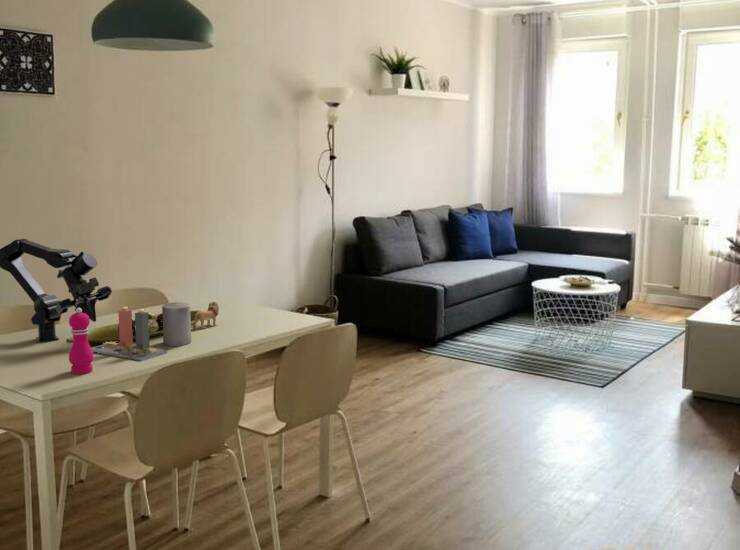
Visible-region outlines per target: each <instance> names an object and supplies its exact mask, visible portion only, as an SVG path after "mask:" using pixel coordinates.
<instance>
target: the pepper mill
mask: <svg viewBox="0 0 740 550" xmlns="http://www.w3.org/2000/svg"><path fill="white" fill-rule="evenodd" d="M75 309H76V308H75ZM81 312H82V309H81V308H77V309H76V311H75V313H73V314H72V315H70V317H69V318H68V324H69V326H70V327H71V330H70V331H71V335H72V344H71V345H72V346H71V348H70V351H69V355H68V362H69V363H70V365H71V366H70V372H72V374H73V373H74V374H73V375H84V374H83V373H86V374H89V373H88V372H90V373H92V372H93V371H92V370H93V364H92V362H93V361H94V359H95V356H94V353H93V352H92V349H91V348H92V347H91V346H90V343H89V339H88V333H89V328H88V326H90V323H91V320H90V319H89V316H88V315H87V314H85V313H81ZM91 371H92V372H91Z"/></svg>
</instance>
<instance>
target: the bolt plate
mask: <svg viewBox="0 0 740 550" xmlns="http://www.w3.org/2000/svg"><path fill="white" fill-rule="evenodd" d="M116 342H117V341H110V342H108V341H105V343H104V342H103V343H102V344H100V345H97V346H93V347H91V349H92V352H97V353H96V354H99V353H102V354H101V355H104V354H107V355H106V356H110V355H112V357H116V356H117V358H121V357H122V358H121V359H127V358H128V360H133V359H134V361H138V360H139V361H140V362H143V361H145V360H148V359H152V358H155V357H158V356H161V355H164V354H167V353H168V350H167V349H163V348H158V347H151V346H149V348H146V349H136V353H134V349H133V346H134V345H135V344H134V343H133V345H130V346H127V347H126V346H120V350H118V346H116Z"/></svg>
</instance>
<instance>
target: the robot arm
mask: <svg viewBox="0 0 740 550" xmlns="http://www.w3.org/2000/svg"><path fill="white" fill-rule="evenodd" d="M24 254H27V255H30V256H33V257H36V258H39V259H41V260H43V261H45V262H46V264H47V265H49V266H51V267H52V268H54V269H59V268H63V269H59V270H58V273H57V276H56V278H58V279H61V278H63V280H64V281H65V285H66V286H67V289H68V290H67V291H68V293H70V295H72V298H73V300H71V298H65V299H63V300H59V299H58V297H57V296H56V295H55V294H51V295H48V294H46V293H45V291H44V290H43V288H42V287H41V286H40V285H39V284H38V282H37V281H36V280H35V279H34V277H33V276H32V275H31V273H30V272H29V271H28V270H27V268H25V266H24V265H23V258H22V257H23V255H24ZM97 265H98V260H97V259H96V257H94V256H93V255H92V254H91V253H88V252H87V251H86V250H83V251H81V252H79V253H78V254H77V255H76V254H74V253H73V252H72V251H71V250H68V249H62V248H51V247H48V246H45V245H43V244H40V243H36V242H33V241H31V240H29V239H28V238H18V239H17V238H16V239H14V240H12V242H11V243H8V244H7V245H4V246H3V247H1V248H0V269H2V270H4V271H6V272H8V273H9V274H11V276H12V277H13V278H14V279H15V281H16V282H17V283H18V285H20V287H21V288H22V290H23V291H24V292H25V293H26V295H28V297H29V299H31V301H32V302H33V310H34V311H35V313H34V314H33V315H32V317H31V318H30V321H31V323H32V325H36V326H37V331H38V335H37V337H35V339H36V340H37V341H38V342H39V343H43V342H49V341H51V342H52V341H59V339H60V338H59V337H58V336H57V335H56V332H57V331H56V322H60V321H61V317H62V314H66V313H67V312H68V309H69V308H72V307H74V311H75V312H76V309H77V308H81V309H82V312H81V313H85V314H87V315H88V316H89V319H90V321H92V322H93V323H95V322H97V316H96V304H97V302H98V301H99V302H102V301H104V300H107V299H109V297H110V296H111V294H112V293H113V290H112V288H111V287H109V286H108V285H106V286H103V287H100V288H98V289H97V291H96V292H94V291H95V290H96V287H99V286H100V284H99V281H98V279H97V277H95V276H94V277H92V278H89V279H88V280H89V281H87V280H86V279H84V278H83V276H86V275H87V274H88V273H90V272H91V271H93V270H94V268H96V267H97ZM93 292H94V293H93Z"/></svg>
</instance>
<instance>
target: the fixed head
mask: <svg viewBox="0 0 740 550" xmlns="http://www.w3.org/2000/svg"><path fill="white" fill-rule="evenodd" d="M134 321H135V322H134V323H135V324H134V326H135V330H134V331H135V344H134V346H133V349H134V353H136V349H146V348H149V347H150V331H149V329H150V328H149V324H150V323H149V312H147V311H145V309H138V311H137V312H134Z"/></svg>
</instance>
